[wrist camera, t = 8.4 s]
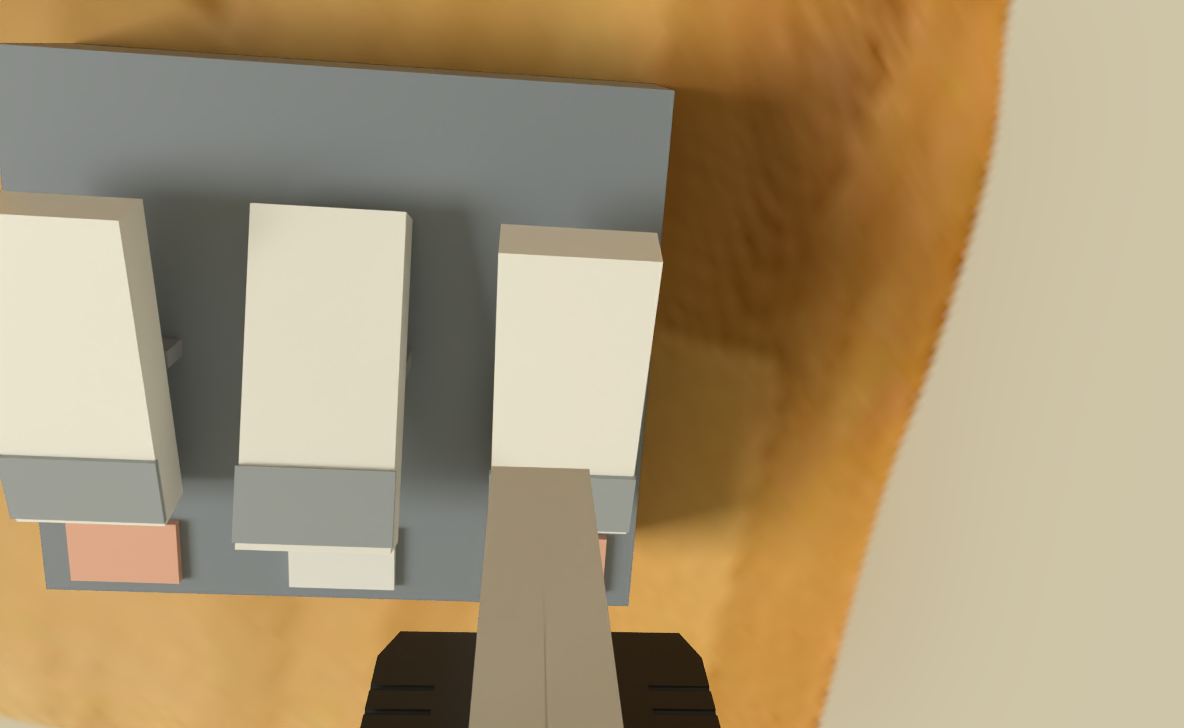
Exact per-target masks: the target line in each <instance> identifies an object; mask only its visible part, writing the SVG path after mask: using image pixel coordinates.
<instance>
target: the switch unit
mask: <svg viewBox="0 0 1184 728" xmlns="http://www.w3.org/2000/svg"><path fill="white" fill-rule="evenodd" d="M674 94H675V90H672V89H668V88H665V87H662V86H659V85H656V84H651V83H636V82H622V81H607V80H593V79H578V78H564V77H550V76H535V75H521V74H506V73H492V72H477V71H463V70H448V69H434V68H419V67H405V66H390V65H376V64H362V63H347V62H333V61H318V60H304V59H289V58H275V57H260V56H246V55H231V54H217V53H203V52H188V51H174V50H159V49H145V48H130V47H116V46H101V45H87V44H72V43H0V174H1V183H2V191H14V192H31V193H49V194H66V195H83V196H100V197H117V198H135V199H143V207H144V214H145V221H146V228H147V235H148V242H149V250H150V257H151V264H152V271H153V278H154V285H155V293H156V300H157V307H158V314H159V321H160V328H161V336H162V343H163V350H164V357H165V364H166V372H167V379H168V386H169V393H170V400H171V407H172V415H173V422H174V429H175V436H176V443H177V450H178V458H179V465H180V472H181V479H182V486H183V495H182V496H181V498H180V500H179V502H178V504H177V506H176V508H175V509H174V511H173V513H172V515H171V517H170V519H169V520H168V522H167V524H166V526H139V525H109V524H80V523H51V522H39V526H40V535H41V544H42V553H43V562H44V571H45V580H46V589H60V590H94V591H128V592H162V593H196V594H231V595H265V596H299V597H333V598H367V599H401V600H436V601H470V602H480V594H481V583H482V572H483V560H484V549H485V537H486V526H487V515H488V495H489V470H491V462H492V432H493V401H494V371H495V340H496V309H497V279H498V251H499V240H500V229H501V224H513V225H530V226H548V227H565V228H582V229H600V230H617V231H634V232H652V233H657V234H658V239H659V244H660V249H661V238H662V227H663V216H664V205H665V194H666V182H667V171H668V160H669V149H670V138H671V127H672V116H673V105H674ZM250 203H262V204H279V205H296V206H313V207H330V208H348V209H365V210H382V211H399V212H407V213H408V215H409V216H410V217H411V218H412V219H413V225H412V247H411V268H410V290H409V312H408V334H407V355H406V377H405V399H404V420H403V442H402V464H401V485H400V507H399V529H398V543H397V545H396V547H395V548H394V550H393V551H392V553H391V555H387V554H356V553H325V552H295V551H264V550H235V543H232V521H233V498H234V475H235V465H239V443H240V420H241V398H242V375H243V352H244V329H245V307H246V284H247V261H248V238H249V216H250ZM651 349H652V348H651ZM650 360H651V355H650ZM649 371H650V362H649V370H648V377H647V384H646V392H645V399H644V406H643V414H642V421H641V428H640V436H639V443H638V450H637V458H636V465H635V473H634V475H636V485H635V492H634V499H633V506H632V514H631V521H630V528H629V533H626V534H611V533H598V538H599V546H600V554H601V561H602V569H603V576H604V584H605V591H606V599H607V606H628V604H629V593H630V582H631V571H632V560H633V549H634V538H635V527H636V516H637V504H638V493H639V482H640V471H641V460H642V449H643V438H644V427H645V416H646V405H647V393H648V382H649Z"/></svg>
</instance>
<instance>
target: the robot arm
mask: <svg viewBox="0 0 1184 728" xmlns="http://www.w3.org/2000/svg"><path fill="white" fill-rule="evenodd" d="M715 710H716V709H715V705H714V702H713V698H712V694H711V692H709V683H708V679H707V676H706V672H705V668H704V665H703V661H702V658H701V657H700V655H699V654H698V653H697V652H696V651H695V650H694V649H693V648H692V647H691V646H690V645H689V644H688V642H687V641H686V640H685V639H684V638H683V637H682V636H681V635H680V634H679V633H638V632H611V629H610V621H609V614H608V606H607V599H606V591H605V584H604V576H603V569H602V561H601V554H600V546H599V538H598V531H597V523H596V516H595V508H594V501H593V493H592V486H591V478H590V470H589V469H575V468H541V467H506V466H492V469H491V481H490V492H489V503H488V515H487V526H486V537H485V549H484V560H483V572H482V583H481V594H480V606H479V617H478V628H477V633H469V632H408V631H400V632H399V634H398V635H397V636H396V637H395V638H394V639H393V640H392V641H391V642H390V643H389V644H388V645H387V647H386V648H385V649H384V650H383V651H382V652H381V653H380V654H379V655H378V657H377V661H376V665H375V669H374V674H373V678H372V682H371V689H370V690H369V694H368V698H367V702H366V707H365V715H363V719H362V723H361V727H360V728H720V724H719V720H718V716H717V715H716V713H715Z"/></svg>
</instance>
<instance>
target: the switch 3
mask: <svg viewBox="0 0 1184 728" xmlns="http://www.w3.org/2000/svg"><path fill="white" fill-rule="evenodd" d="M662 267H663V259H662V254H661V249H660V244H659V239H658V234H657V233H652V232H634V231H617V230H600V229H582V228H565V227H548V226H530V225H513V224H501V229H500V240H499V251H498V279H497V309H496V340H495V371H494V401H493V432H492V462H491V469H492V466H506V467H541V468H575V469H589V470H590V478H591V486H592V493H593V501H594V508H595V516H596V523H597V531H598V533H611V534H626V533H629V528H630V521H631V514H632V506H633V499H634V492H635V485H636V475H634V473H635V465H636V458H637V450H638V443H639V436H640V428H641V421H642V414H643V406H644V399H645V392H646V384H647V377H648V370H649V362H650V355H651V348H652V340H653V333H654V326H655V318H656V311H657V304H658V296H659V289H660V281H661V274H662ZM490 481H491V470H489V492H490ZM488 503H489V495H488Z"/></svg>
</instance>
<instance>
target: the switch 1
mask: <svg viewBox="0 0 1184 728" xmlns="http://www.w3.org/2000/svg"><path fill="white" fill-rule="evenodd" d="M0 477H1V482H2V486H3V490H4V494H5V498H6V502H7V506H8V511H9V515H10V519H16V521H21V522H51V523H80V524H109V525H139V526H166V524H167V522H168V520H169V519H170V517H171V515H172V513H173V511H174V509H175V508H176V506H177V504H178V502H179V500H180V498H181V496H182V495H183V486H182V479H181V472H180V465H179V458H178V450H177V443H176V436H175V429H174V422H173V415H172V407H171V400H170V393H169V386H168V379H167V372H166V364H165V357H164V350H163V343H162V336H161V328H160V321H159V314H158V307H157V300H156V293H155V285H154V278H153V271H152V264H151V257H150V250H149V242H148V235H147V228H146V221H145V214H144V207H143V199H135V198H117V197H100V196H83V195H66V194H49V193H31V192H14V191H0Z"/></svg>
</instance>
